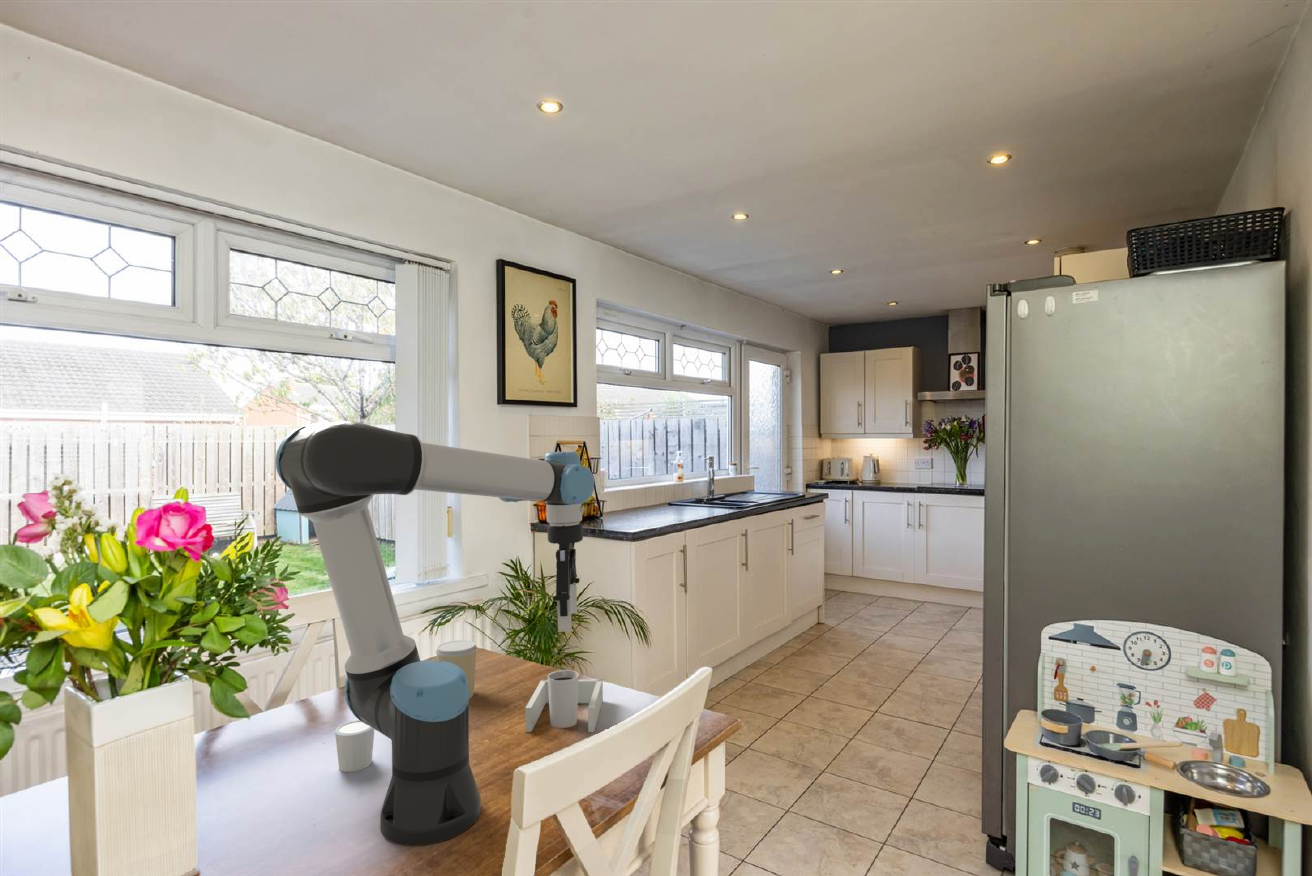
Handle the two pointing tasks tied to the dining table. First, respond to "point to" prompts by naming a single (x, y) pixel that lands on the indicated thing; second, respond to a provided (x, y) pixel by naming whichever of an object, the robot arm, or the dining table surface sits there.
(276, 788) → the dining table surface
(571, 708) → the white cup
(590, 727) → the u-shaped frame
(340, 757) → the white tapered cup
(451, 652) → the coffee cup
